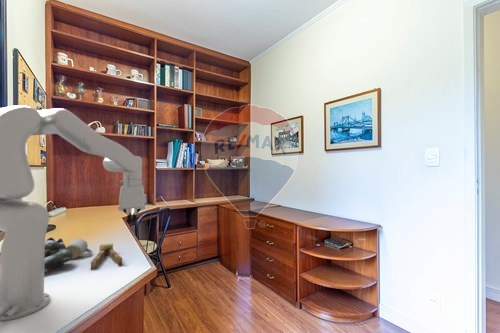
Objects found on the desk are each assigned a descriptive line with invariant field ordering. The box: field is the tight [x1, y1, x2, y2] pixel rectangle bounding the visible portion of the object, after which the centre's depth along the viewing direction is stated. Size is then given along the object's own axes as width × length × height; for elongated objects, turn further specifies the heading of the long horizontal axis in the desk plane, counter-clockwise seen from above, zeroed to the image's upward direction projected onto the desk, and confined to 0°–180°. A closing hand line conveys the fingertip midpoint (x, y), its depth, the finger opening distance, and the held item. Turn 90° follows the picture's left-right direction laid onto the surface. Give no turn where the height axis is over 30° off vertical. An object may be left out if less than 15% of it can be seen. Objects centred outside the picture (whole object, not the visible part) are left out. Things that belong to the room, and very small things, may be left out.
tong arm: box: [108, 248, 123, 267], centre depth 106 cm, size 16×1×3 cm, turn 44°
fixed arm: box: [90, 249, 107, 271], centre depth 105 cm, size 18×2×3 cm, turn 19°
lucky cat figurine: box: [44, 237, 73, 273], centre depth 96 cm, size 15×12×14 cm
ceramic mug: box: [65, 238, 93, 260], centre depth 110 cm, size 11×8×8 cm
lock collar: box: [98, 243, 114, 253], centre depth 113 cm, size 2×5×5 cm, turn 109°
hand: (131, 223), depth 106 cm, fingers closed
